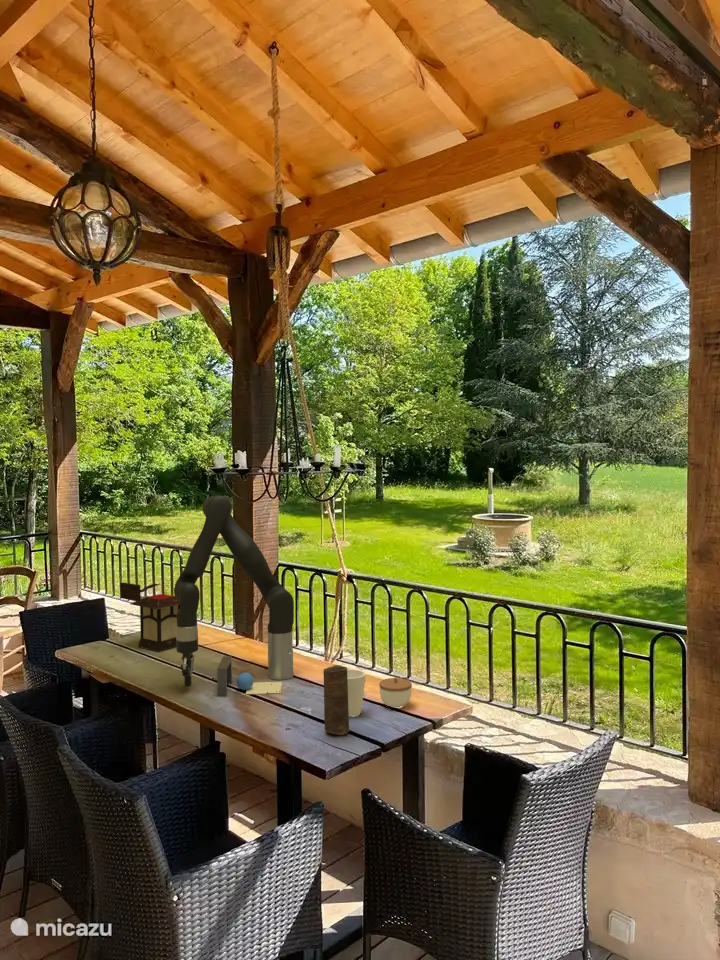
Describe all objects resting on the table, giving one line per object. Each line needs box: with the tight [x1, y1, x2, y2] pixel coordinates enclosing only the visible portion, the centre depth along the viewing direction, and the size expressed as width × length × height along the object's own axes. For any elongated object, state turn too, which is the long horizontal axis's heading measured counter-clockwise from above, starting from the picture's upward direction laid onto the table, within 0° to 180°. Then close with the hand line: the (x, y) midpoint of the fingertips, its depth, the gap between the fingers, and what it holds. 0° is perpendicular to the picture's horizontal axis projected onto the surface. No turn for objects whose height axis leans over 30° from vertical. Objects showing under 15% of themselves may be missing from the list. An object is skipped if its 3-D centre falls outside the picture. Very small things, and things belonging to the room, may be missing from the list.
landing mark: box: [245, 681, 283, 695], centre depth 253 cm, size 12×12×1 cm
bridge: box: [216, 655, 233, 697], centre depth 252 cm, size 3×15×10 cm, turn 3°
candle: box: [323, 664, 350, 736], centre depth 212 cm, size 8×7×20 cm
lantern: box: [119, 582, 181, 653], centre depth 306 cm, size 18×26×30 cm
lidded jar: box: [378, 677, 413, 707], centre depth 234 cm, size 11×11×9 cm
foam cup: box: [347, 668, 366, 715], centre depth 228 cm, size 10×9×13 cm
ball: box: [236, 672, 255, 691], centre depth 252 cm, size 6×6×6 cm
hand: (188, 685), depth 252 cm, fingers closed
